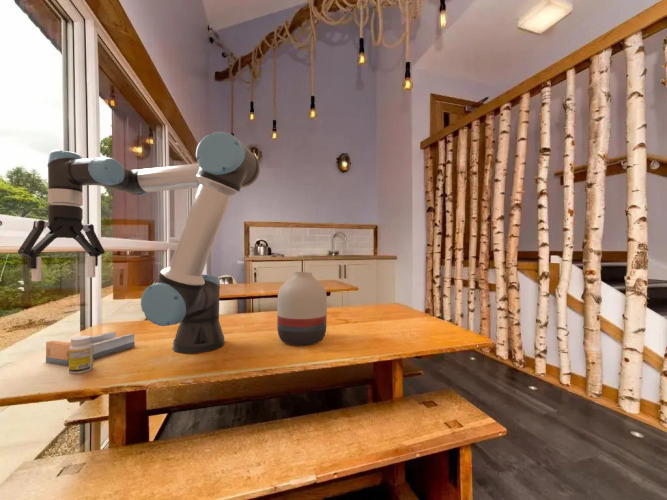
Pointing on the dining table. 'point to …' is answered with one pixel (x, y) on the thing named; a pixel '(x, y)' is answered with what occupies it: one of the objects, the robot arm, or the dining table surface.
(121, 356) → the dining table surface
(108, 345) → the rail
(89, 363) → the supplement bottle
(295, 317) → the vase
